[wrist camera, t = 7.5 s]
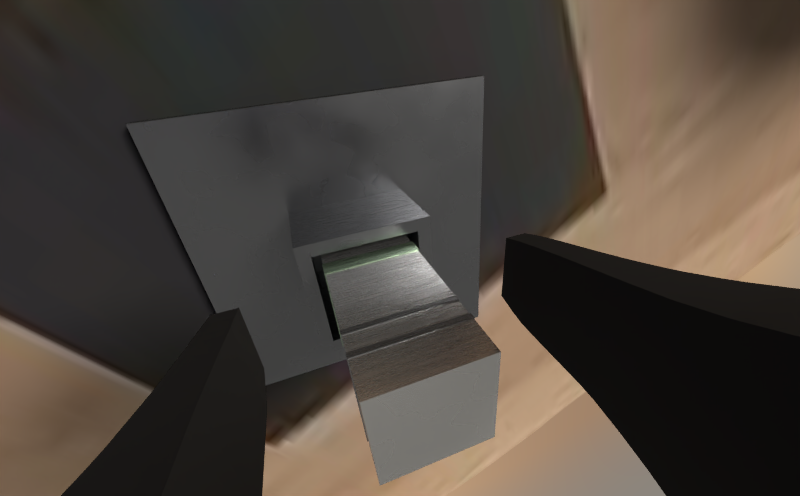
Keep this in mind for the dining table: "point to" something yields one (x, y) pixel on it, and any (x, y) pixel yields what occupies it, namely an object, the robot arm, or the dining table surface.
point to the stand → (319, 201)
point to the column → (411, 356)
